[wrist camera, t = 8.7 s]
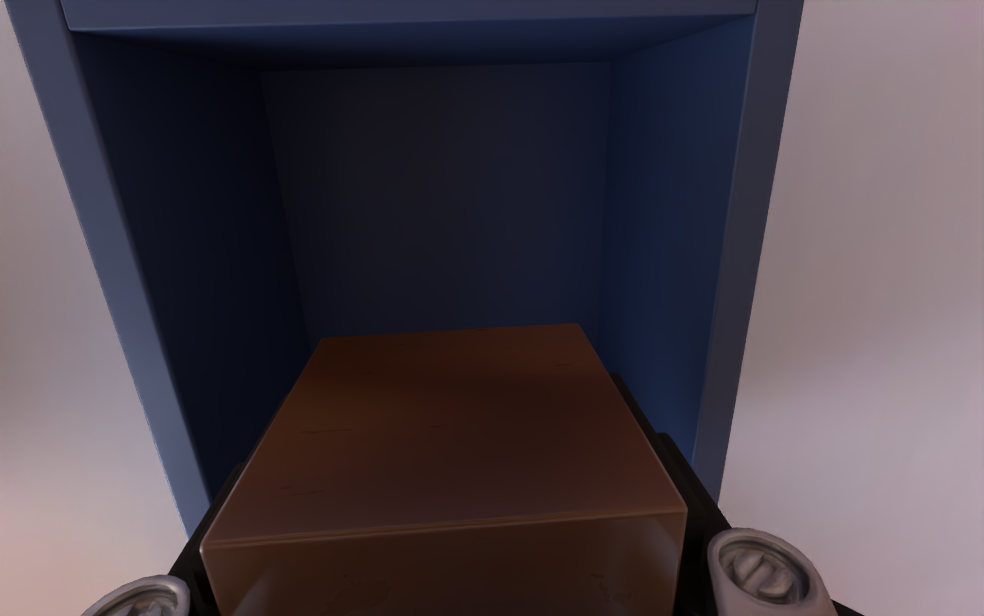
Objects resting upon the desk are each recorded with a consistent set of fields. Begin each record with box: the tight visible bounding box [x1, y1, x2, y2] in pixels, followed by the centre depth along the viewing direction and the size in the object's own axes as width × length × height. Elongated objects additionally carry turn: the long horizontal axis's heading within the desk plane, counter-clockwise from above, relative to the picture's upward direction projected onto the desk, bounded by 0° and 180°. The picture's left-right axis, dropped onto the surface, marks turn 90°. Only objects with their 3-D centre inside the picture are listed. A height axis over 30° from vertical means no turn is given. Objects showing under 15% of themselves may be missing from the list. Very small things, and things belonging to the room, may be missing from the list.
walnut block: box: [200, 323, 688, 616], centre depth 8 cm, size 5×5×5 cm
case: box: [4, 0, 804, 541], centre depth 16 cm, size 17×14×10 cm
